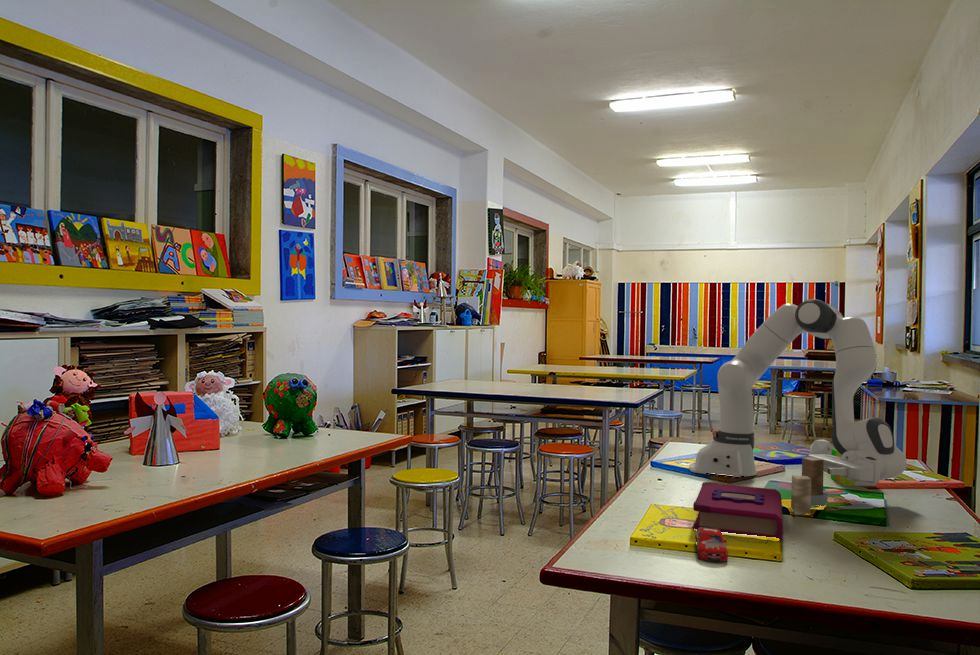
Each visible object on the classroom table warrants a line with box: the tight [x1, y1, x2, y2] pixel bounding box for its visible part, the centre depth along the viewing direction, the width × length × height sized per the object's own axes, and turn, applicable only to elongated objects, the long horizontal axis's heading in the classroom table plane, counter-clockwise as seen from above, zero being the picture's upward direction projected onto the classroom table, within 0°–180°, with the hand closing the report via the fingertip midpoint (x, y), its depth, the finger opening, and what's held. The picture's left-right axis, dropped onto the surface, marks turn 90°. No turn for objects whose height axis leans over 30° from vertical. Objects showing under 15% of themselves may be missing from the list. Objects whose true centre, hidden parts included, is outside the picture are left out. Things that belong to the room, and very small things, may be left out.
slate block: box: [811, 491, 829, 506], centre depth 209 cm, size 7×7×4 cm
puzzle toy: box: [830, 448, 877, 487], centre depth 241 cm, size 10×10×10 cm
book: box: [692, 481, 784, 541], centre depth 191 cm, size 21×28×8 cm
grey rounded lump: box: [809, 439, 835, 455], centre depth 276 cm, size 8×9×10 cm
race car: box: [694, 527, 729, 562], centre depth 167 cm, size 16×7×5 cm, turn 166°
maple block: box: [790, 474, 811, 516], centre depth 201 cm, size 4×4×10 cm
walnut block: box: [801, 456, 825, 496], centre depth 208 cm, size 4×4×10 cm
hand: (817, 467), depth 209 cm, fingers open, 8 cm apart
